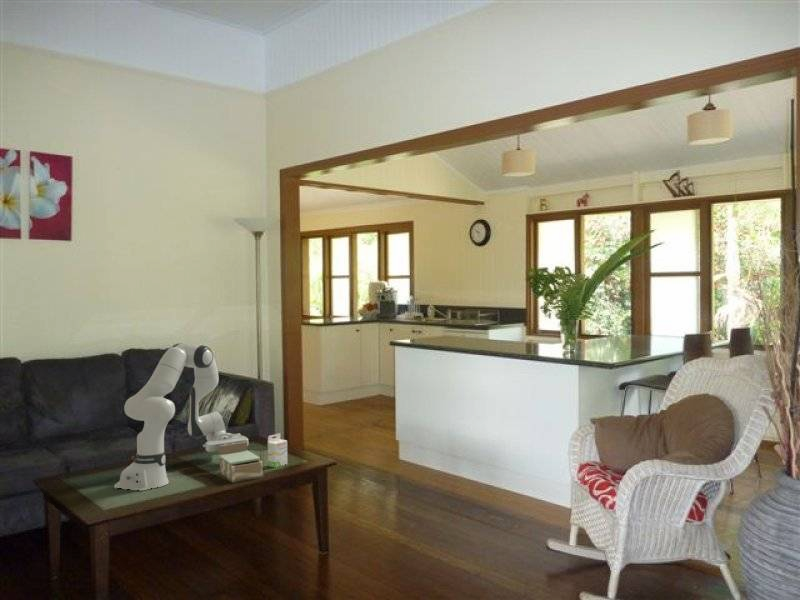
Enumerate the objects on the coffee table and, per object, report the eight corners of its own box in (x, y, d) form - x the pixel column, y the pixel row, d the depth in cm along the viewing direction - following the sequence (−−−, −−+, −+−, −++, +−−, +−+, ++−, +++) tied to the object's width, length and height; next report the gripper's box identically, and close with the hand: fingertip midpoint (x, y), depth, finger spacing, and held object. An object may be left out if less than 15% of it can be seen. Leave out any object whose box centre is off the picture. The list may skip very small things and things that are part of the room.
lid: (217, 456, 306) (217, 445, 306) (246, 451, 313) (246, 441, 313) (230, 465, 291) (230, 453, 290) (260, 459, 298) (260, 449, 298)
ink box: (274, 468, 310) (274, 437, 310) (267, 466, 313) (266, 436, 313) (288, 464, 317) (287, 433, 317) (281, 462, 320) (280, 432, 320)
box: (220, 473, 304) (219, 458, 303) (249, 468, 311) (248, 453, 311) (232, 482, 288) (232, 467, 288) (262, 477, 296) (262, 461, 296)
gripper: (201, 438, 315) (210, 444, 304) (242, 432, 326) (252, 437, 315) (201, 451, 315) (210, 457, 304) (242, 445, 327) (252, 450, 315)
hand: (232, 447), depth 309 cm, fingers closed, pressing on lid
